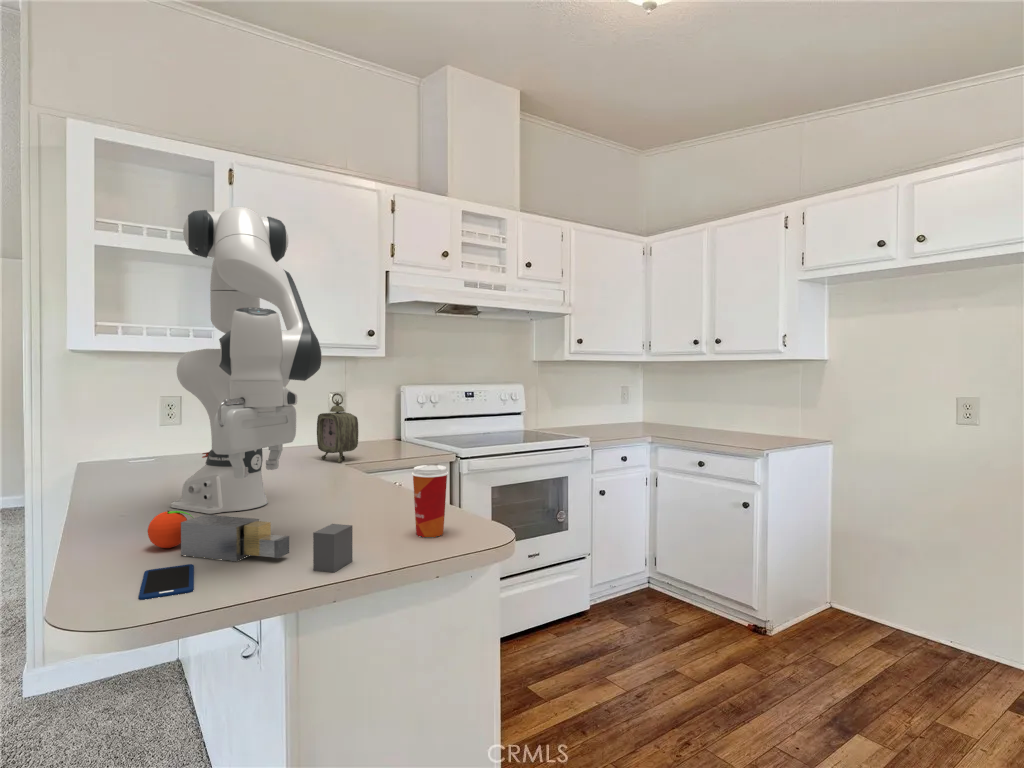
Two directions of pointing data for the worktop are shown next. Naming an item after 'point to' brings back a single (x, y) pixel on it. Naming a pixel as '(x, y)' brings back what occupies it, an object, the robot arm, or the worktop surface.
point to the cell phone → (167, 581)
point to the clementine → (166, 529)
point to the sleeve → (213, 537)
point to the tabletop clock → (337, 431)
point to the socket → (332, 547)
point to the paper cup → (429, 499)
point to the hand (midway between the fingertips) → (257, 473)
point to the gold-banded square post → (263, 541)
